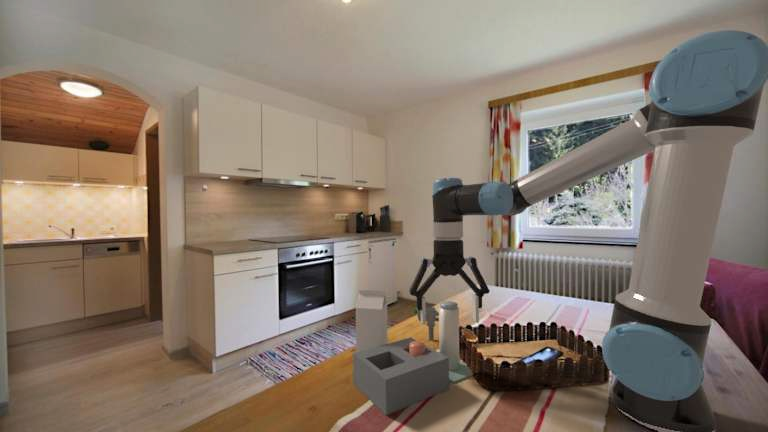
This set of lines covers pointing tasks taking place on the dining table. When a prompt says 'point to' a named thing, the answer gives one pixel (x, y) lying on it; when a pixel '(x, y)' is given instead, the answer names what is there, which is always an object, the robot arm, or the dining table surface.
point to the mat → (460, 373)
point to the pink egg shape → (416, 348)
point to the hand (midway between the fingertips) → (449, 321)
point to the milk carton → (371, 319)
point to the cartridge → (449, 333)
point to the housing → (399, 375)
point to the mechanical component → (429, 319)
